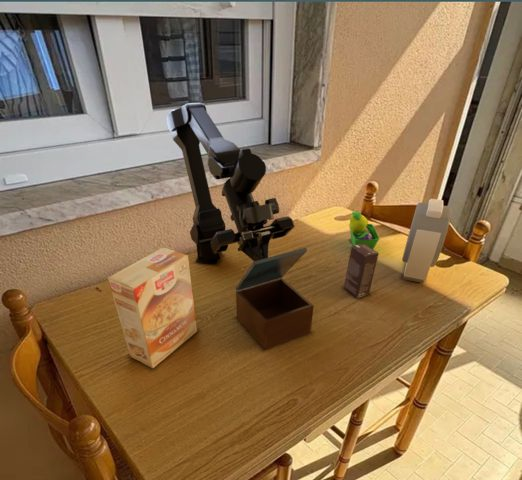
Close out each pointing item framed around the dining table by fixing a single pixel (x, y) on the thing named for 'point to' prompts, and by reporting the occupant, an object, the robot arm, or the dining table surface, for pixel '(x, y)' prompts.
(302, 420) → the dining table surface
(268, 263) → the lid
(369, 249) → the box
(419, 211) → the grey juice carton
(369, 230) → the fruit basket
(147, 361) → the coffeecake box
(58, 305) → the dining table surface
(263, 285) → the chest
